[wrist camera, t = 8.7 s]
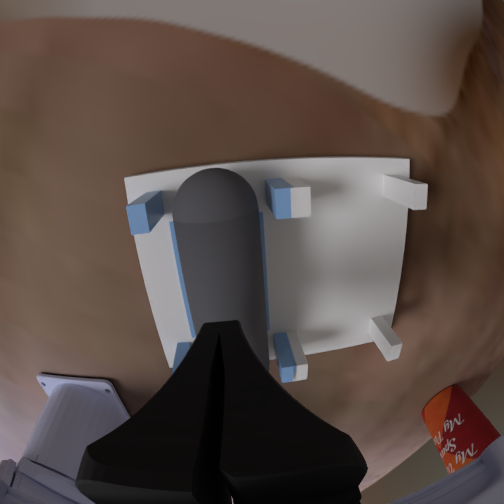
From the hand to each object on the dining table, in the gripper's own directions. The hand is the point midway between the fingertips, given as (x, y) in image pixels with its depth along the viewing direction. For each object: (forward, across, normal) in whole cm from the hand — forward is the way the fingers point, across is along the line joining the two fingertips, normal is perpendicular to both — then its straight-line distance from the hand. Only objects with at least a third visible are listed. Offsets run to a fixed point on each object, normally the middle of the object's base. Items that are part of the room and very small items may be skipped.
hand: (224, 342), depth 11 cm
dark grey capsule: (+5, 0, 0) cm, 5 cm away
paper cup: (+6, -22, +20) cm, 31 cm away
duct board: (+6, -3, 0) cm, 7 cm away
